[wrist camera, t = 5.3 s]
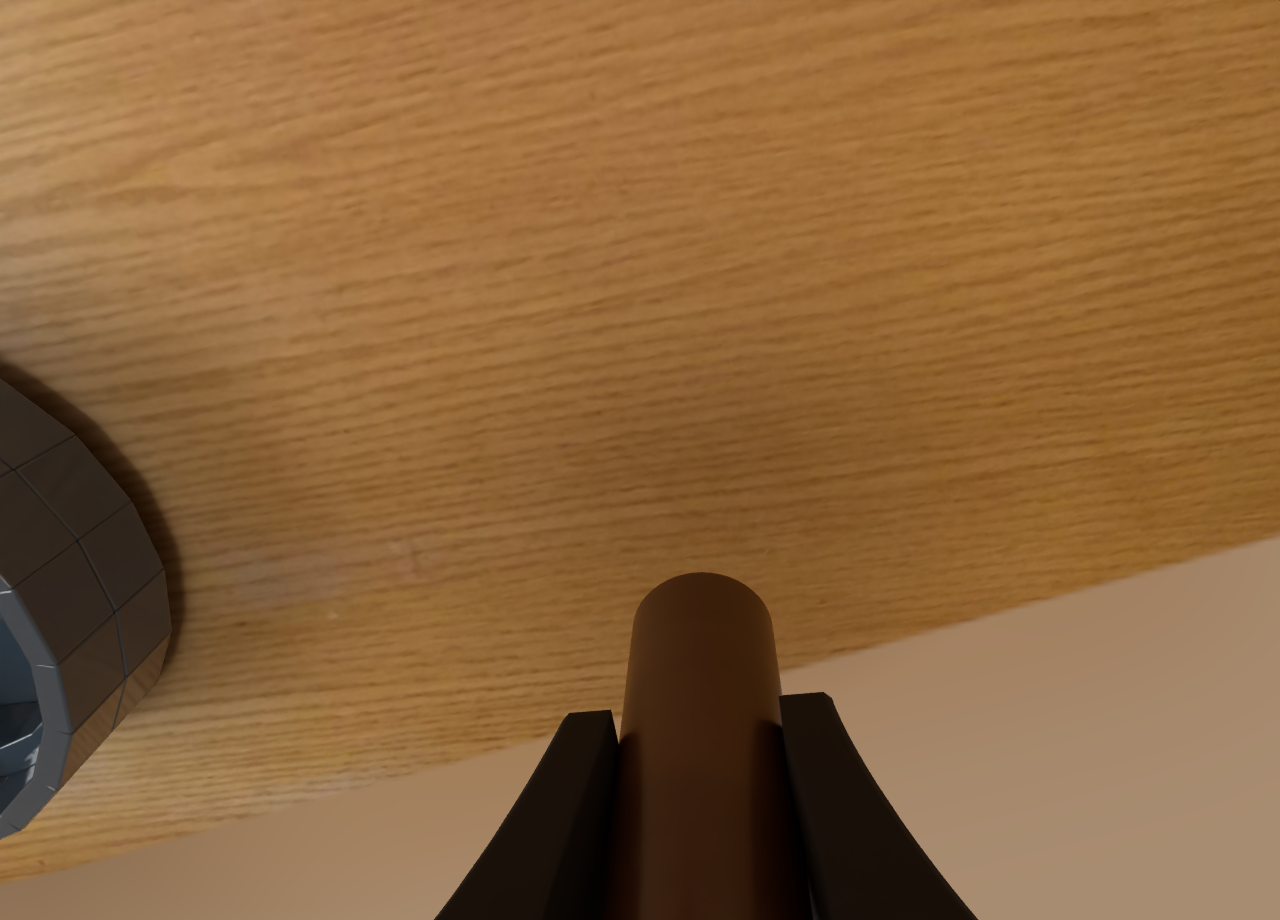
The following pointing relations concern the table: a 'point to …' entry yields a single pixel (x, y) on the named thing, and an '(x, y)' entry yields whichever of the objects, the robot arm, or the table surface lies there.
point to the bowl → (67, 607)
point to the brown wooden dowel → (703, 765)
